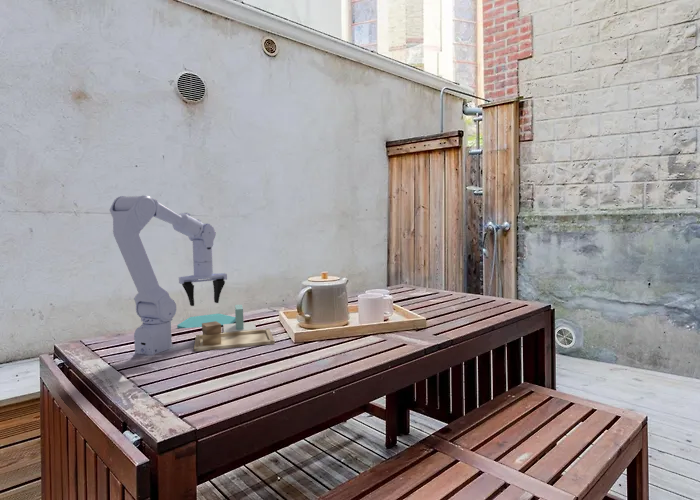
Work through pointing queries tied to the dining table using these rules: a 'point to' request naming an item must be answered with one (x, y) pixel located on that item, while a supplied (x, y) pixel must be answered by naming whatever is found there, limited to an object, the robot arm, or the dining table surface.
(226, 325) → the tile
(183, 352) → the dining table surface
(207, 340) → the offcut
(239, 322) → the panel
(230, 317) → the plaque
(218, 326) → the offcut
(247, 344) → the wooden tray
